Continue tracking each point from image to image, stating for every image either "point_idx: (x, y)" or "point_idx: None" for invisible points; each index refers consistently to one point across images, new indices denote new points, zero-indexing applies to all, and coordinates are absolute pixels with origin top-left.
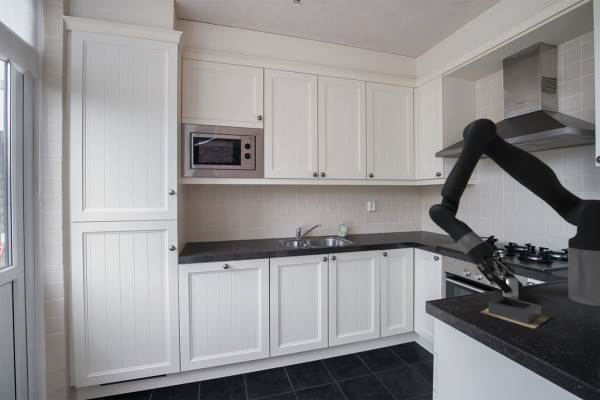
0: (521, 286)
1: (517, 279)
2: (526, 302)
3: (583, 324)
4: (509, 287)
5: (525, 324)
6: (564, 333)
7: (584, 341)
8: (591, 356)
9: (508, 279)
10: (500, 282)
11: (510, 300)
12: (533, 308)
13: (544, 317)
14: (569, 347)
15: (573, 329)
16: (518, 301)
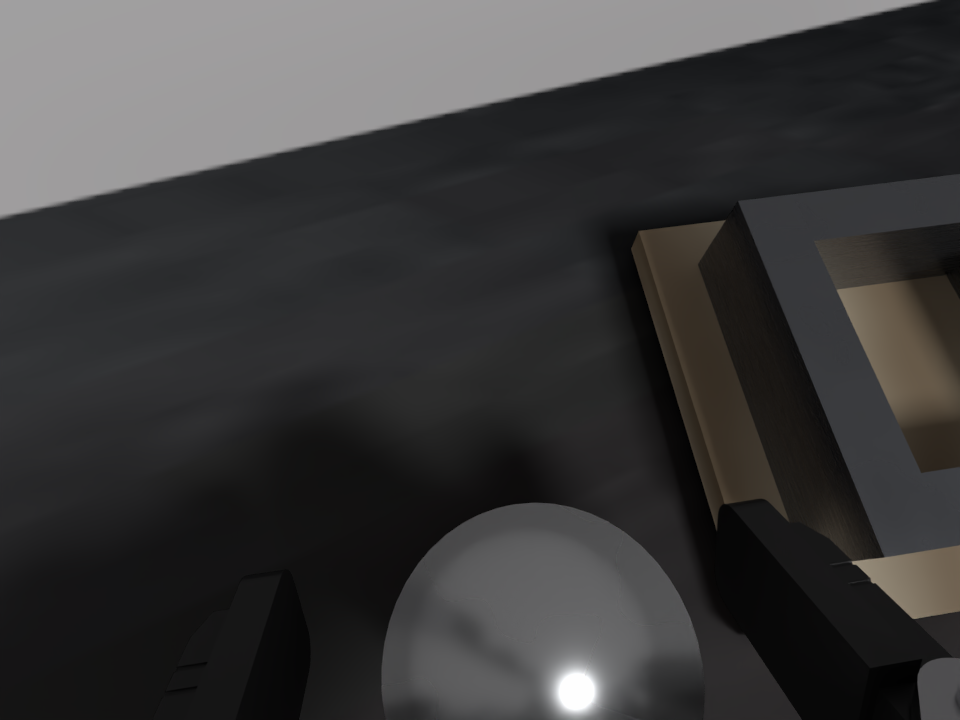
0: (291, 582)
1: (481, 530)
2: (797, 296)
3: (453, 152)
4: (778, 523)
5: None
6: (746, 145)
7: (748, 72)
8: (898, 15)
9: (681, 626)
10: (936, 653)
11: (889, 427)
12: (898, 192)
13: (688, 245)
14: (913, 76)
15: (618, 147)
16: (858, 348)
